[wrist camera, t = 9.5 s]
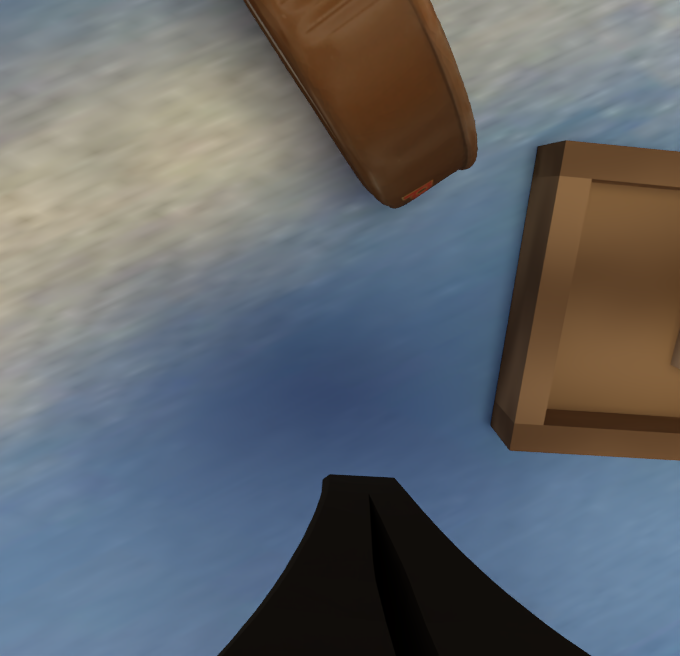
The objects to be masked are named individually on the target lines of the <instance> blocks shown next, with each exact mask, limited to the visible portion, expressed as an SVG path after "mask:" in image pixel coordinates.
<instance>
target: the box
mask: <svg viewBox="0 0 680 656" xmlns="http://www.w3.org/2000/svg"><path fill="white" fill-rule="evenodd" d="M491 427H492V428H493V429H494V431H495V432H496V433H497V435H498V436H499V437H500V439H501V440H502V441H503V442H504V444H505V445H506V446H507V448H508V449H509V450H510V451H526V452H543V453H560V454H578V455H595V456H612V457H629V458H646V459H663V460H680V152H677V151H667V150H657V149H647V148H637V147H627V146H617V145H607V144H596V143H586V142H576V141H561V142H556V143H551V144H547V145H542V146H538V150H537V155H536V161H535V167H534V173H533V179H532V185H531V191H530V196H529V202H528V208H527V214H526V220H525V226H524V232H523V238H522V243H521V249H520V255H519V261H518V267H517V273H516V279H515V284H514V290H513V296H512V302H511V308H510V314H509V320H508V326H507V331H506V337H505V343H504V349H503V355H502V361H501V367H500V372H499V378H498V384H497V390H496V396H495V402H494V408H493V414H492V419H491Z"/></svg>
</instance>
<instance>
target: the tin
mask: <svg viewBox="0 0 680 656" xmlns="http://www.w3.org/2000/svg"><path fill="white" fill-rule="evenodd" d="M243 1H244V2H245V4H246V5H247V7H248V9H249V10H250V12H251V13H252V15H253V17H254V18H255V20H256V21H257V23H258V25H259V26H260V28H261V29H262V31H263V32H264V34H265V36H266V37H267V39H268V40H269V42H270V43H271V45H272V46H273V48H274V50H275V51H276V53H277V54H278V56H279V57H280V59H281V61H282V62H283V64H284V65H285V67H286V68H287V70H288V71H289V73H290V74H291V76H292V77H293V79H294V81H295V82H296V84H297V85H298V87H299V88H300V90H301V91H302V93H303V94H304V96H305V97H306V99H307V100H308V102H309V103H310V105H311V106H312V108H313V110H314V111H315V113H316V114H317V116H318V117H319V119H320V120H321V122H322V124H323V125H324V127H325V128H326V130H327V131H328V133H329V134H330V136H331V138H332V139H333V141H334V142H335V144H336V145H337V147H338V148H339V150H340V151H341V153H342V155H343V156H344V158H345V159H346V161H347V162H348V164H349V165H350V167H351V168H352V170H353V171H354V173H355V174H356V176H357V177H358V179H359V180H360V181H361V183H362V184H363V186H364V187H365V188H366V189H367V190H368V191H369V192H370V193H371V194H373V196H374V197H375V198H376V199H377V200H378V201H380V202H381V203H382V204H384V205H386V206H389V207H390V208H399V207H401V206H404V205H405V204H407V203H409V202H410V201H412V200H414V199H415V198H417V197H418V196H420V195H421V194H422V193H424V192H425V191H427V190H428V189H430V188H431V187H433V186H434V185H436V184H437V183H439V182H440V181H442V180H443V179H445V178H446V177H448V176H449V175H451V174H452V173H454V172H456V171H457V170H465V169H468V168H470V167H471V166H472V165H473V164H474V162H475V161H476V157H477V150H478V147H477V133H476V129H475V120H474V117H473V113H472V109H471V105H470V102H469V99H468V95H467V93H466V90H465V87H464V83H463V81H462V78H461V75H460V73H459V70H458V67H457V64H456V61H455V59H454V56H453V53H452V51H451V48H450V45H449V43H448V41H447V38H446V36H445V33H444V31H443V29H442V26H441V24H440V21H439V20H438V18H437V16H436V13H435V11H434V8H433V5H432V3H431V1H430V0H243Z"/></svg>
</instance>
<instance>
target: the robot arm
mask: <svg viewBox="0 0 680 656" xmlns="http://www.w3.org/2000/svg"><path fill="white" fill-rule="evenodd" d="M217 656H591V655H589V654H588V653H586V652H585V651H583V650H582V649H580V648H579V647H577V646H576V645H575V644H573V643H572V642H570V641H569V640H567V639H566V638H564V637H563V636H562V635H560V634H559V633H557V632H556V631H555V630H553V629H552V628H551V627H549V626H548V625H547V624H545V623H544V622H543V621H541V620H540V619H539V618H537V617H536V616H535V615H534V614H532V613H531V612H530V611H529V610H527V609H526V608H525V607H524V606H522V605H521V604H520V603H519V602H517V601H516V600H515V599H513V598H512V597H511V596H510V595H508V594H507V593H506V592H505V591H504V590H503V589H501V588H500V587H499V586H498V585H497V584H496V583H494V582H493V581H492V580H491V579H490V578H489V577H488V576H487V575H486V574H485V573H484V572H482V571H481V570H480V569H479V568H478V567H477V566H476V565H475V564H474V563H473V562H472V561H471V560H470V559H468V558H467V557H466V556H465V555H464V554H463V553H462V552H461V551H460V550H459V549H458V548H457V547H456V546H455V545H454V544H453V543H452V542H451V541H450V540H449V539H448V538H447V537H446V535H445V534H444V533H443V532H442V531H441V530H440V529H439V528H438V527H437V526H436V525H435V524H434V523H433V522H432V520H431V519H430V518H429V517H428V516H427V515H426V514H425V513H424V512H423V510H422V509H421V508H420V507H419V506H418V505H417V504H416V502H415V501H414V500H413V499H412V498H411V497H410V495H409V494H408V493H407V492H406V491H405V490H404V489H403V487H402V486H401V485H400V484H399V483H398V482H397V481H396V479H395V478H388V477H370V476H351V475H333V474H329V475H328V476H327V477H325V478H324V479H323V482H322V493H321V496H320V500H319V503H318V505H317V508H316V511H315V513H314V515H313V518H312V520H311V522H310V524H309V526H308V528H307V530H306V533H305V535H304V537H303V539H302V541H301V542H300V544H299V546H298V548H297V549H296V551H295V553H294V554H293V556H292V558H291V560H290V561H289V563H288V565H287V566H286V568H285V570H284V571H283V573H282V574H281V576H280V577H279V579H278V580H277V582H276V583H275V585H274V586H273V588H272V589H271V591H270V592H269V593H268V595H267V596H266V598H265V599H264V600H263V602H262V603H261V604H260V606H259V607H258V608H257V610H256V611H255V612H254V613H253V615H252V616H251V617H250V618H249V619H248V621H247V622H246V623H245V624H244V625H243V627H242V628H241V629H240V630H239V631H238V633H237V634H236V635H235V636H234V637H233V639H232V640H231V641H230V642H229V643H228V644H227V646H226V647H225V648H224V649H223V650H222V651H221V652H220V653H219V654H218V655H217Z"/></svg>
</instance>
